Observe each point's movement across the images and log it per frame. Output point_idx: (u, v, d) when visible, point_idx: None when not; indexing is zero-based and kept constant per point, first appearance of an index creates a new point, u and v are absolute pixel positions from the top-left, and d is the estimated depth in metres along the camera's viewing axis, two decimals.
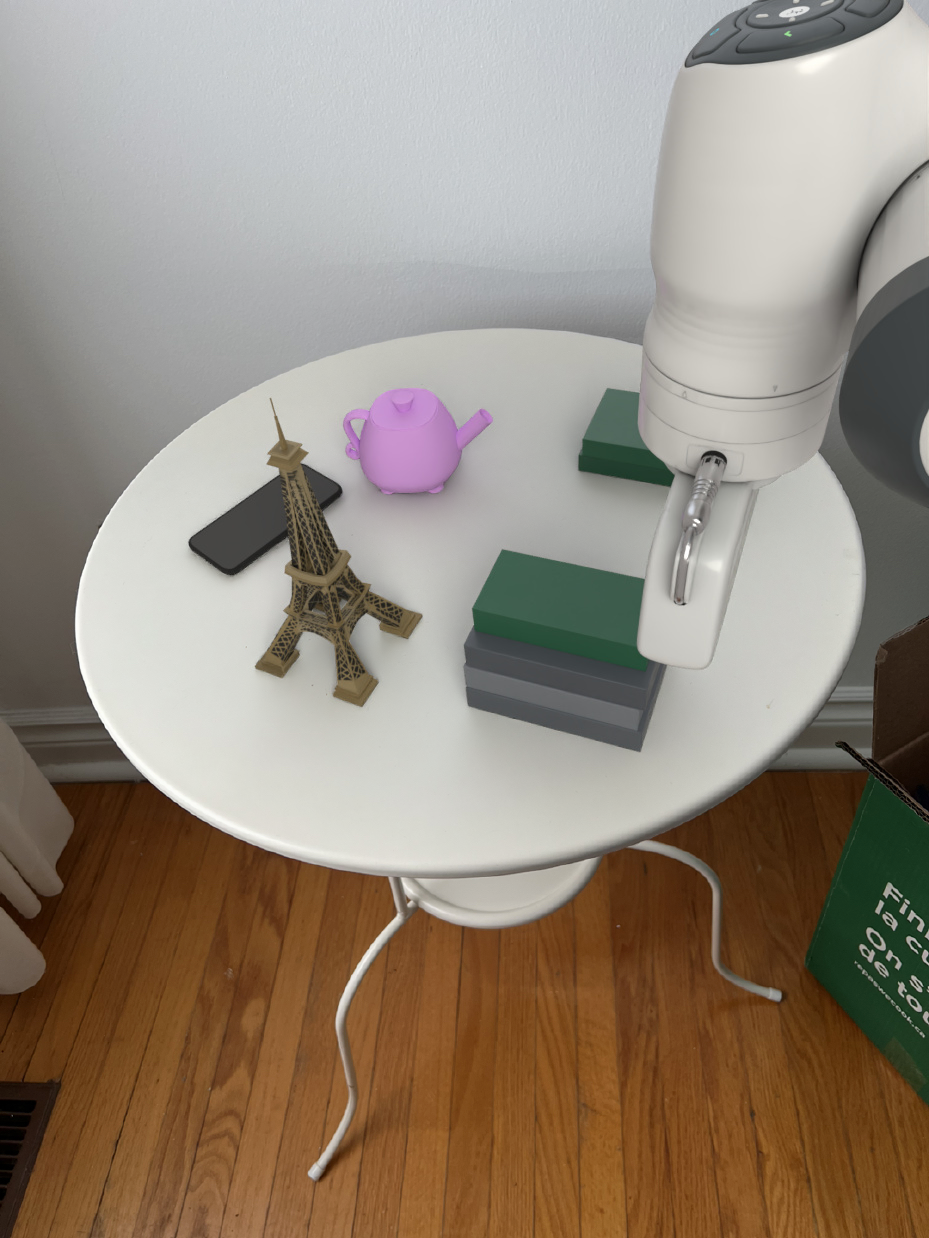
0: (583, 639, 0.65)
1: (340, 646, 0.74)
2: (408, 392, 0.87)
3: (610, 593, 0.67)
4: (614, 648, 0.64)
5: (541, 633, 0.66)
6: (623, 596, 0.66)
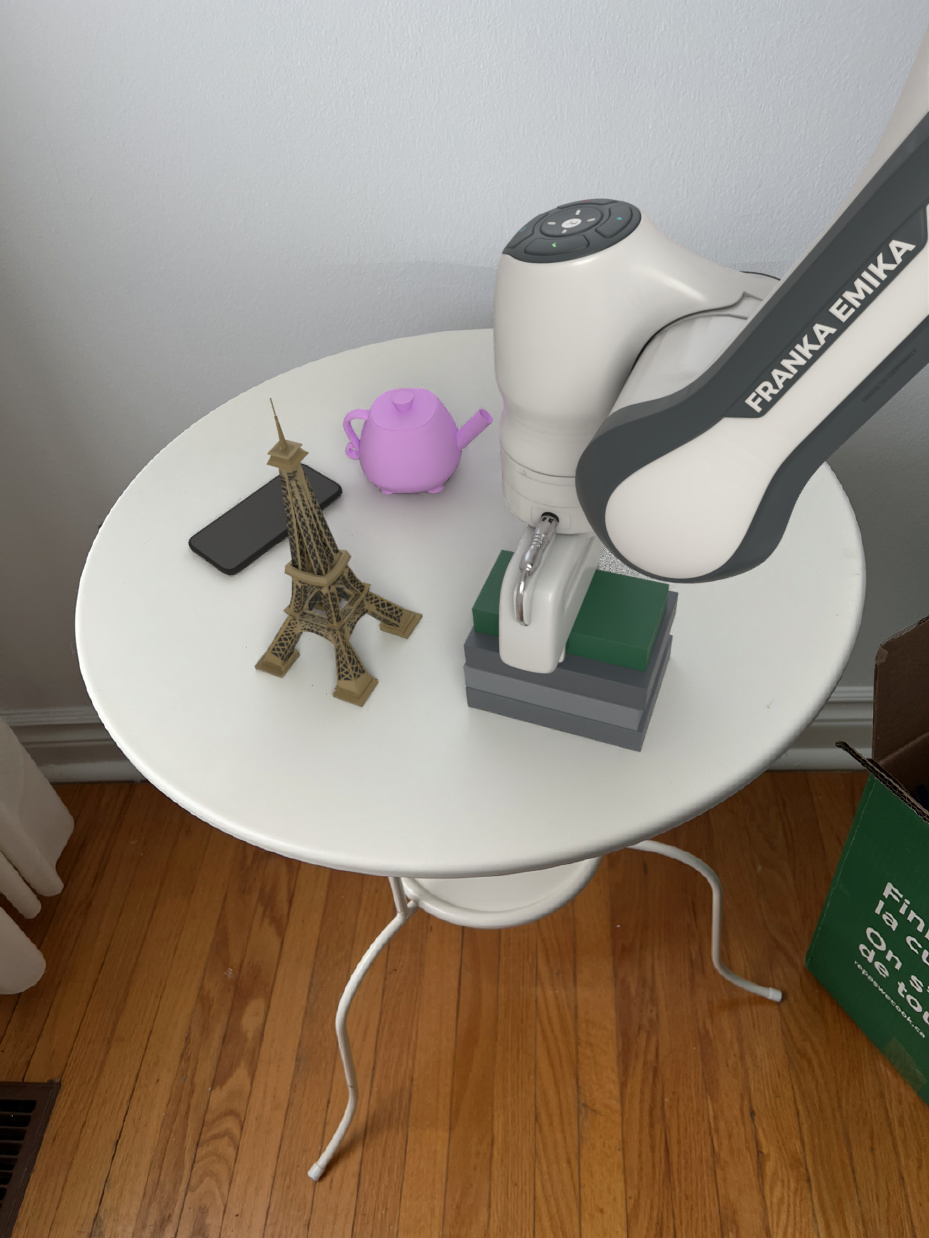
0: (583, 640, 0.65)
1: (340, 646, 0.74)
2: (408, 392, 0.87)
3: (610, 593, 0.67)
4: (614, 648, 0.64)
5: None
6: (623, 597, 0.66)
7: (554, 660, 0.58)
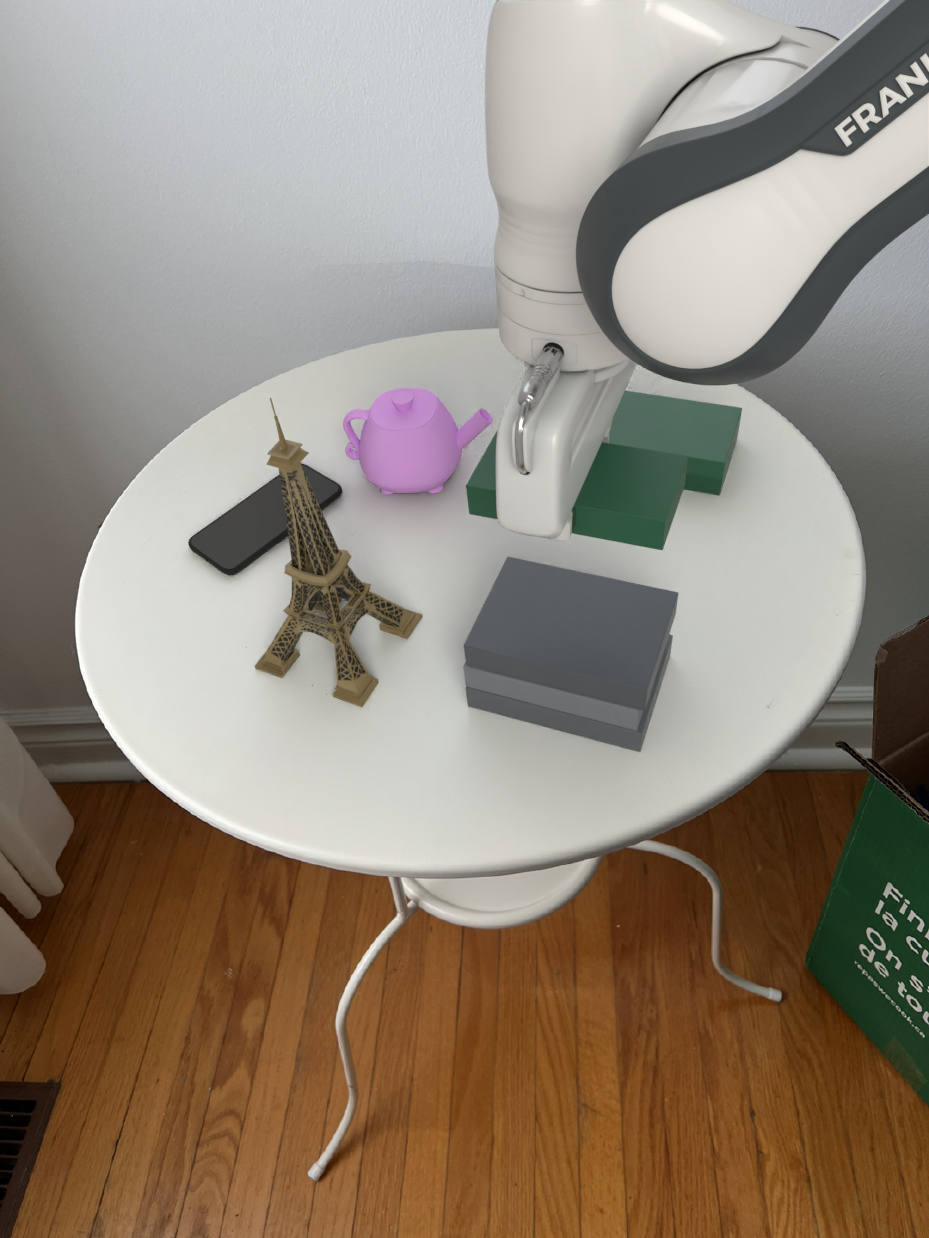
0: (591, 515, 0.57)
1: (340, 646, 0.74)
2: (408, 392, 0.87)
3: (622, 466, 0.59)
4: (627, 523, 0.57)
5: None
6: (636, 469, 0.59)
7: (560, 520, 0.50)
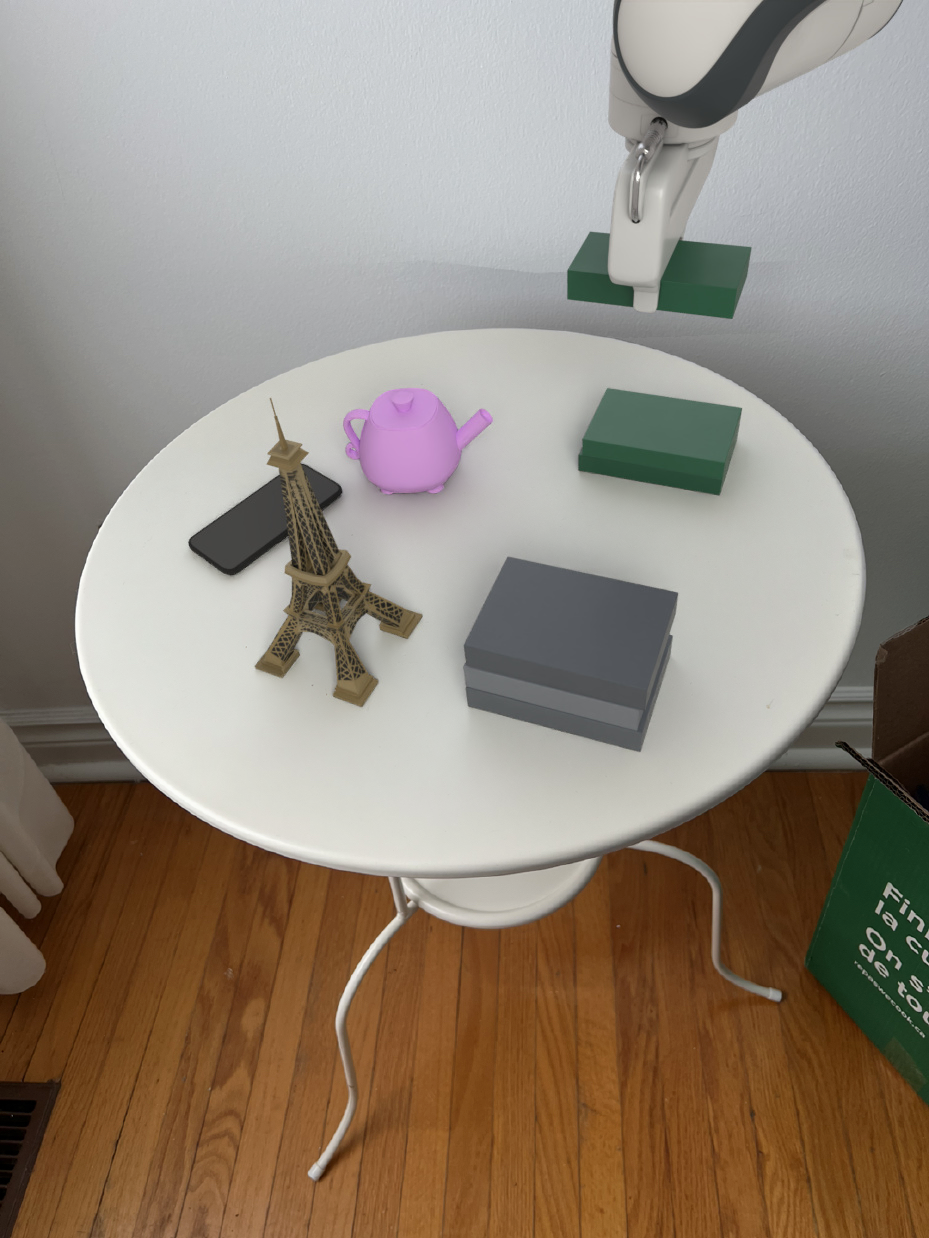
0: (674, 289, 0.70)
1: (340, 646, 0.74)
2: (408, 392, 0.87)
3: (697, 255, 0.71)
4: (704, 294, 0.69)
5: (633, 289, 0.71)
6: (709, 256, 0.71)
7: (660, 267, 0.62)
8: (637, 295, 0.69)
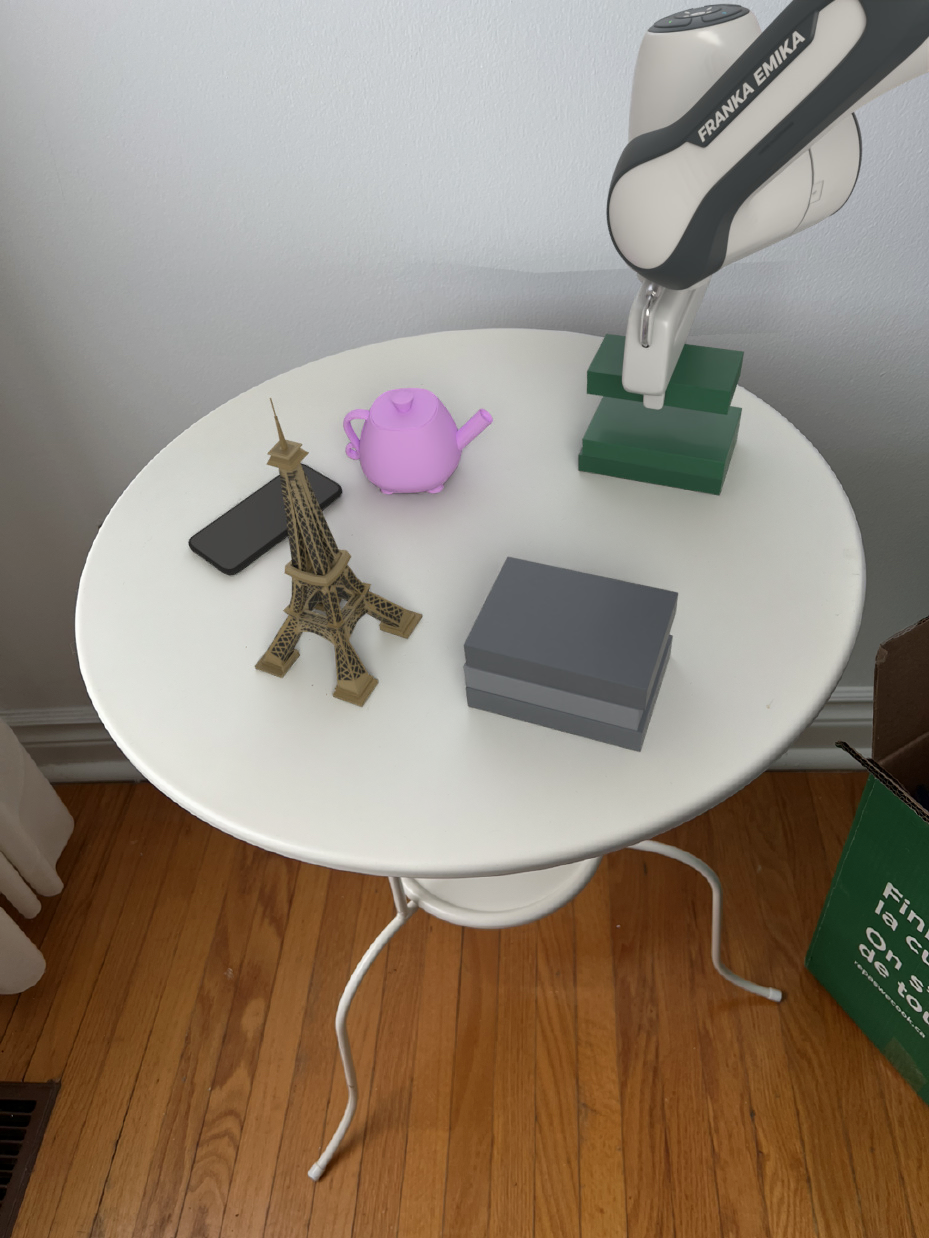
0: (677, 389, 0.82)
1: (340, 646, 0.74)
2: (408, 392, 0.87)
3: (697, 358, 0.84)
4: (703, 394, 0.82)
5: None
6: (707, 360, 0.84)
7: (665, 381, 0.75)
8: (646, 395, 0.82)
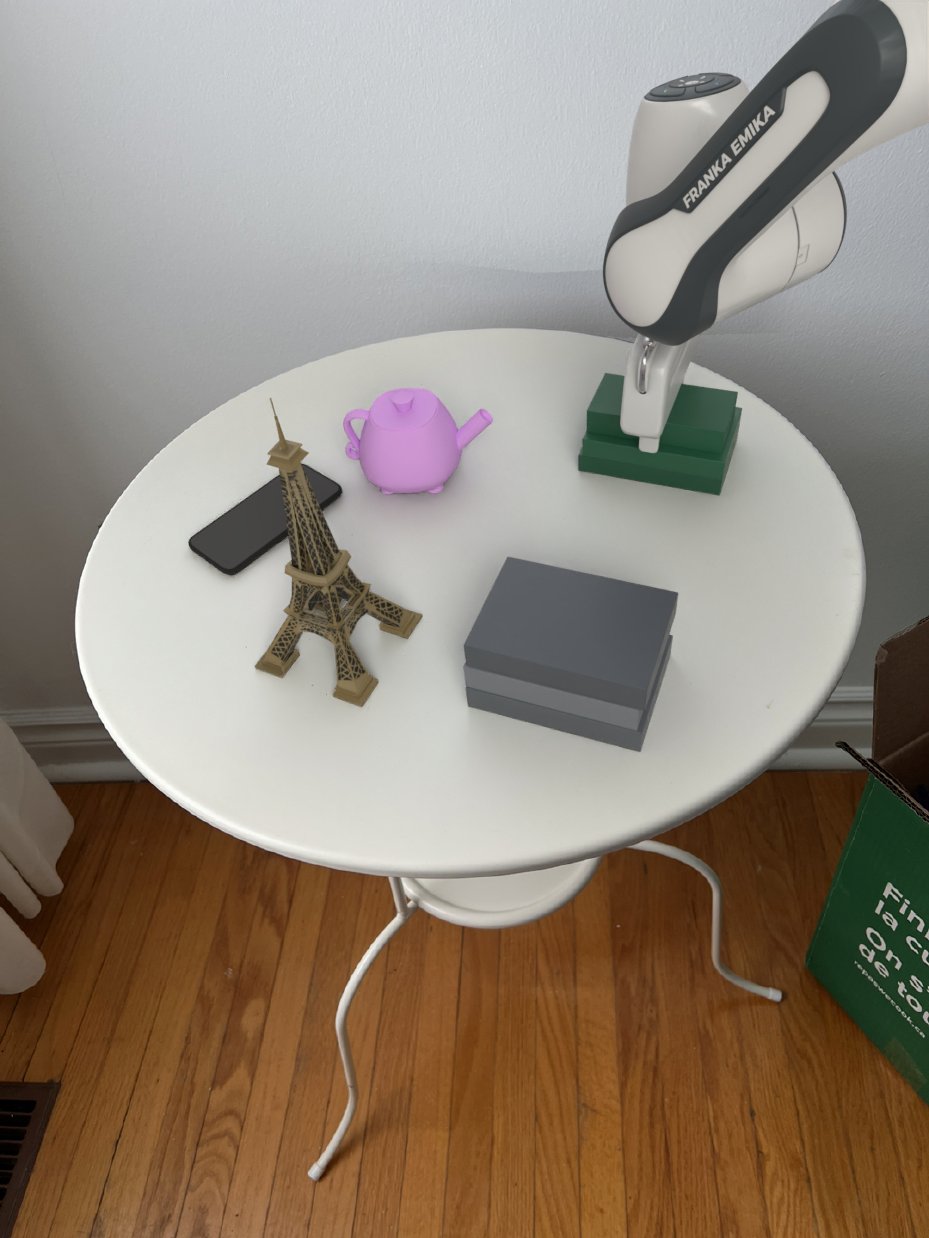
0: (674, 429, 0.85)
1: (340, 646, 0.74)
2: (408, 392, 0.87)
3: (693, 398, 0.87)
4: (698, 434, 0.85)
5: None
6: (703, 400, 0.87)
7: (662, 425, 0.78)
8: (642, 439, 0.85)
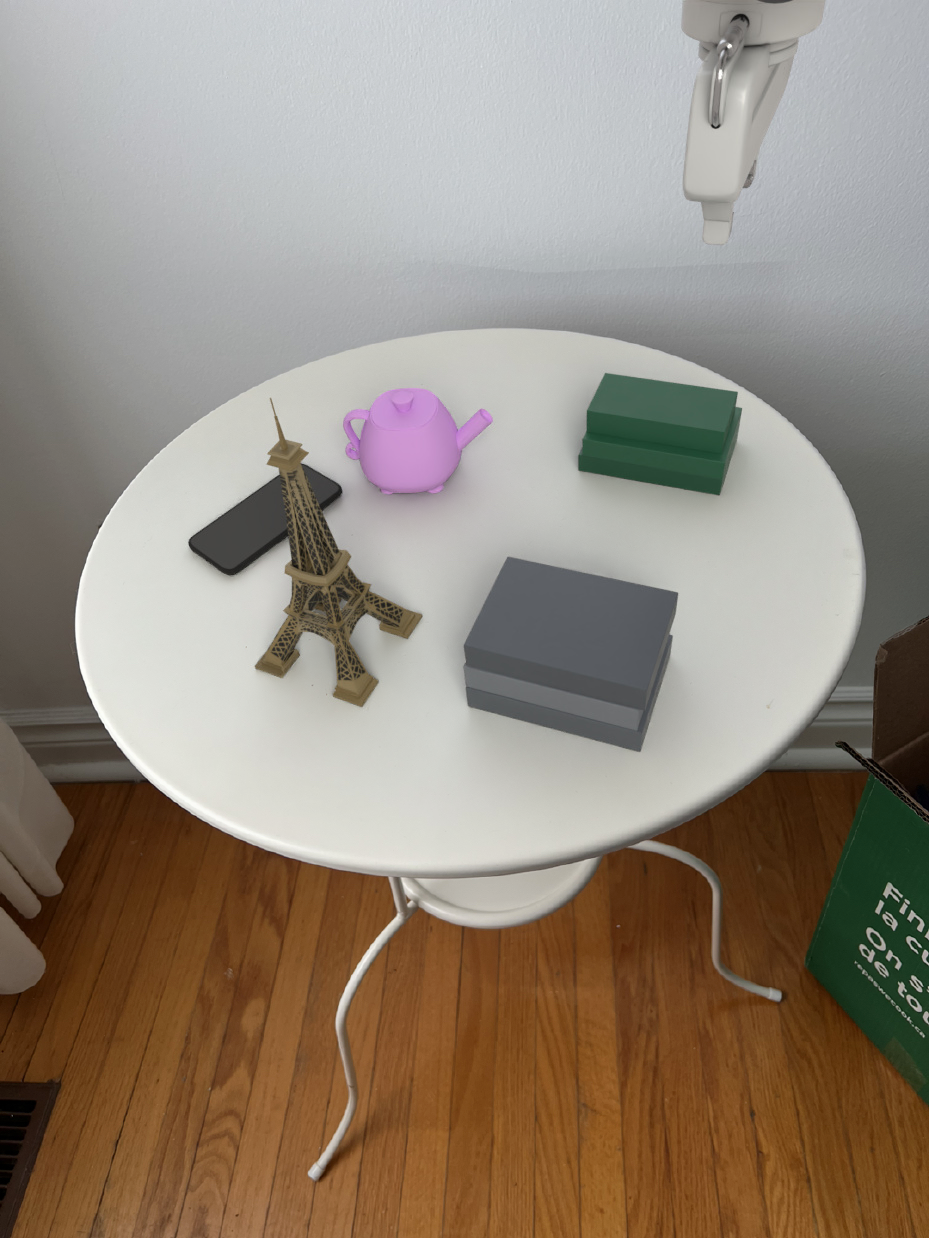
0: (674, 429, 0.85)
1: (340, 646, 0.74)
2: (408, 392, 0.87)
3: (693, 398, 0.87)
4: (698, 434, 0.85)
5: (641, 427, 0.87)
6: (703, 400, 0.87)
7: (740, 179, 0.58)
8: (707, 225, 0.64)
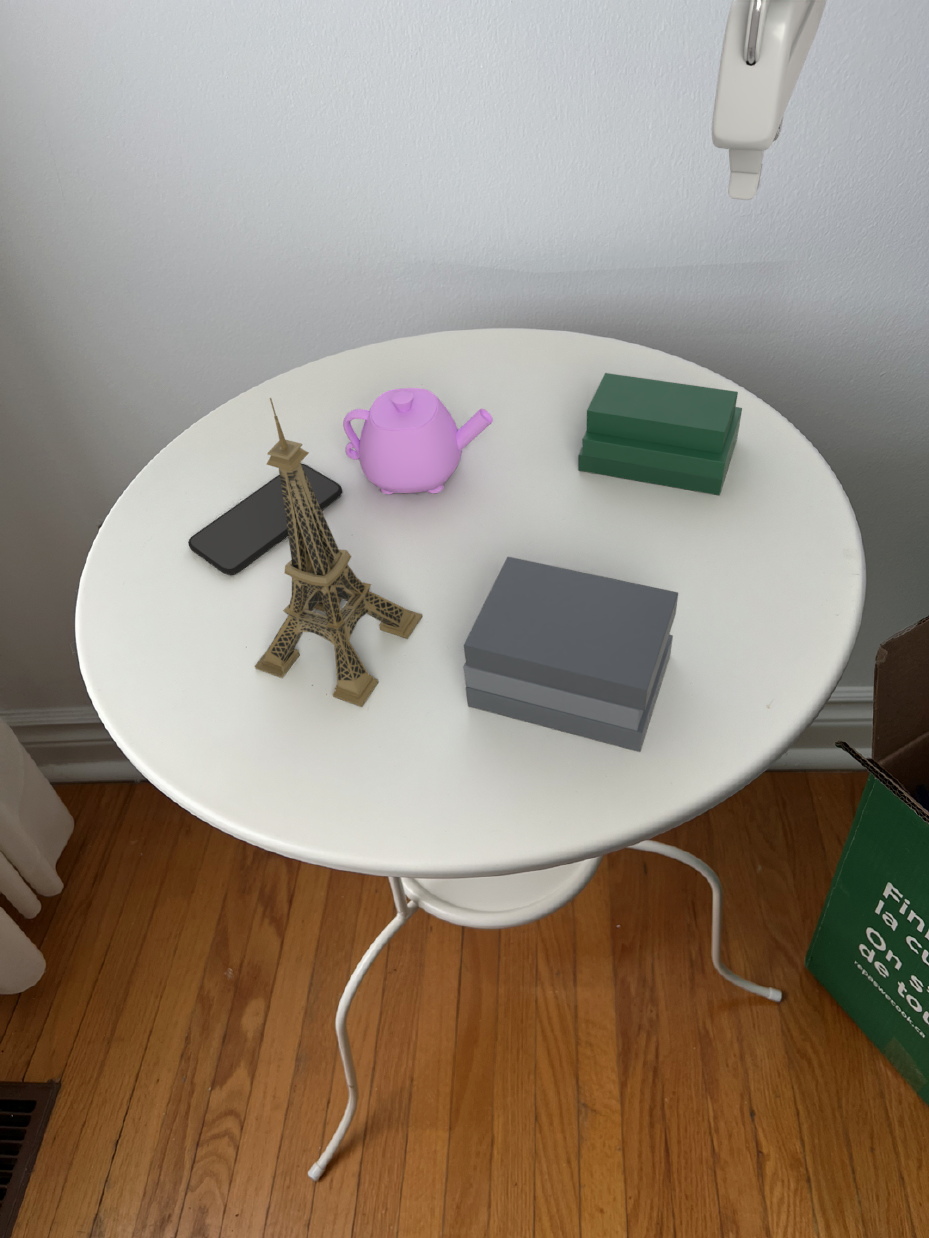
0: (674, 429, 0.85)
1: (340, 646, 0.74)
2: (408, 392, 0.87)
3: (693, 398, 0.87)
4: (698, 434, 0.85)
5: (641, 427, 0.87)
6: (703, 400, 0.87)
7: (775, 123, 0.53)
8: (734, 178, 0.60)
